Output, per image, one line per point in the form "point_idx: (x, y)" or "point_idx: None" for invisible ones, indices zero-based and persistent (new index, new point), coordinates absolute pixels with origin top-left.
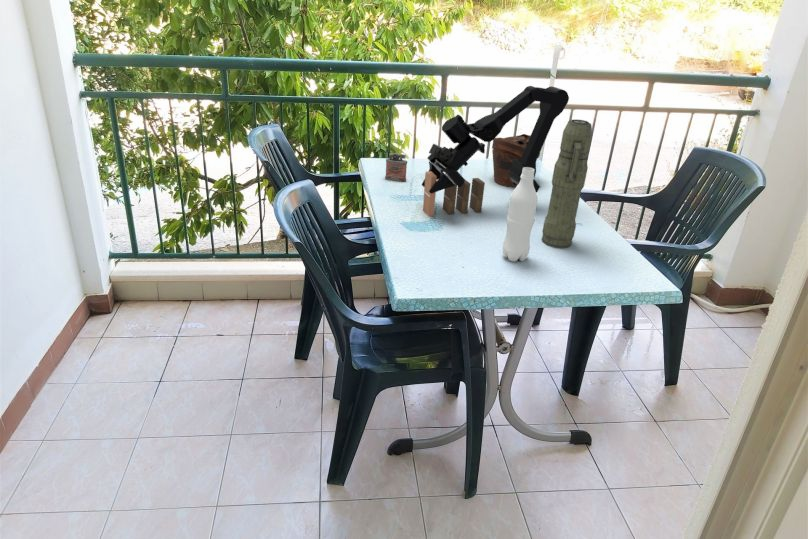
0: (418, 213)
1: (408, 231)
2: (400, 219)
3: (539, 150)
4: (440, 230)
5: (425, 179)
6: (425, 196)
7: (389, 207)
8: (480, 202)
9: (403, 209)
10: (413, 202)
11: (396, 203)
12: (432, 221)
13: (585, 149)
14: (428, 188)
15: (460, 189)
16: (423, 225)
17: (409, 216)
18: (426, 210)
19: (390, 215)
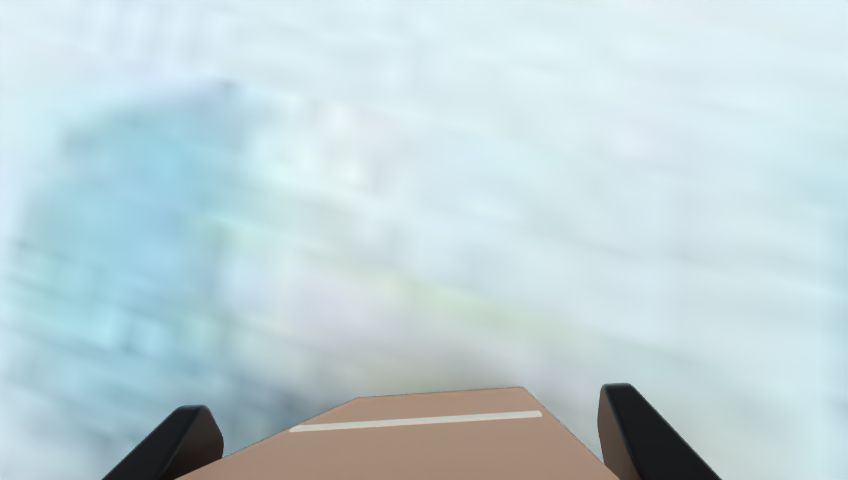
0: (442, 313)
1: (58, 113)
2: (318, 104)
3: None
4: (4, 398)
5: (560, 462)
6: (474, 410)
7: (636, 64)
8: None
9: (569, 188)
10: (787, 353)
11: (755, 155)
12: (217, 393)
13: None
14: (342, 446)
15: None
16: (145, 274)
17: (376, 202)
18: (416, 396)
19: (425, 36)
